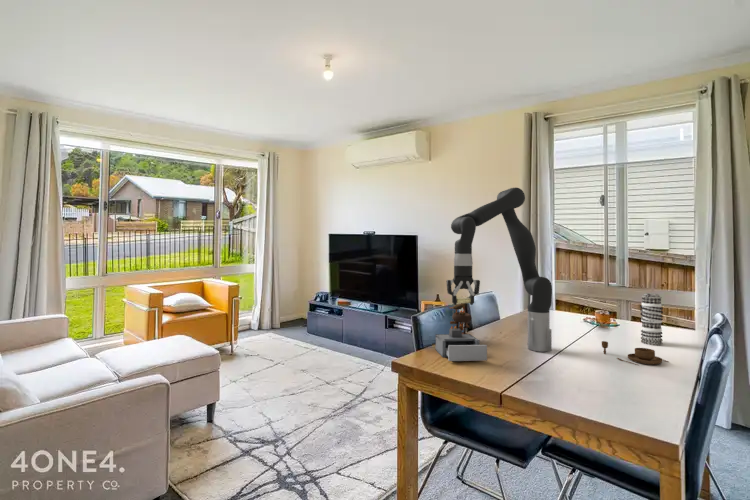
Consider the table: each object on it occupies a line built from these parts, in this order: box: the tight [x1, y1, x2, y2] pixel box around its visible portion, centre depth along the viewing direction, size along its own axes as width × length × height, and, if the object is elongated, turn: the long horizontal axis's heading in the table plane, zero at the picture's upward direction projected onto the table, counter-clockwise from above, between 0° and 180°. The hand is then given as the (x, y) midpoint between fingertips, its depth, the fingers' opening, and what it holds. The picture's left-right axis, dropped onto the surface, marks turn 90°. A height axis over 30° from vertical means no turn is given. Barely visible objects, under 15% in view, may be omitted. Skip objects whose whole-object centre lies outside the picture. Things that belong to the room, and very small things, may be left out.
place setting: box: [601, 340, 669, 366], centre depth 164 cm, size 18×20×6 cm
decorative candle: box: [639, 292, 664, 347], centre depth 186 cm, size 9×9×25 cm
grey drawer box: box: [435, 328, 481, 358], centre depth 171 cm, size 16×13×10 cm
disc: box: [457, 297, 471, 304], centre depth 162 cm, size 6×6×2 cm
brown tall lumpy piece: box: [448, 303, 472, 334], centre depth 191 cm, size 15×11×20 cm
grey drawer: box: [445, 344, 488, 362], centre depth 161 cm, size 16×13×6 cm
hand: (463, 304), depth 162 cm, fingers closed on disc, 6 cm apart
